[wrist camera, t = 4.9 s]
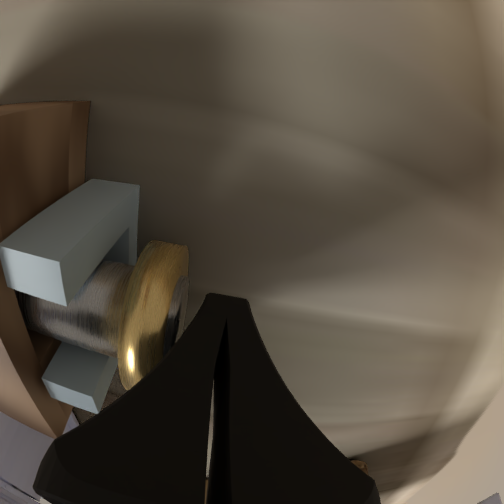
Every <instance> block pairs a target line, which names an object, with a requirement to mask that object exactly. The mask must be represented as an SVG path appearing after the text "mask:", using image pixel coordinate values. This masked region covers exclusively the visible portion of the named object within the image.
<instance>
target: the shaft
mask: <svg viewBox="0 0 504 504" xmlns="http://www.w3.org/2000/svg"><path fill="white" fill-rule="evenodd" d="M188 264H189V252H188V247H187V246H184V245H178V244H173V243H168V242H162V241H157V240H152V241H150V242H149V243H148V244H147V245H146V246H145V248H144V249H143V251H142V252H141V254H140V256H139V258H138V260H137V262H136V264H135V266H133V265H128V264H123V263H119V262H114V261H110V260H105V259H102V260H101V262H100V263H99V264H98V265H97V267H96V268H95V269H94V271H93V272H92V273H91V274H90V276H89V277H88V278H87V280H86V281H85V282H84V284H83V285H82V286H81V288H80V289H79V291H78V292H77V293H76V295H75V296H74V297H73V299H72V300H71V302H70V303H69V304H68V306H63V305H60V304H57V303H54V302H50V301H47V300H44V299H41V298H38V297H35V296H32V295H29V294H26V293H23V292H20V291H18V290H15V289H14V291H15V294H16V298H17V301H18V305H19V308H20V311H21V314H22V317H23V320H24V323H25V326H26V328H28V329H30V330H33V331H35V332H38V333H41V334H43V335H46V336H49V337H51V338H54V339H57V340H60V341H63V342H66V343H69V344H72V345H75V346H78V347H81V348H84V349H87V350H90V351H94V352H97V353H101V354H104V355H107V356H111V357H115V358H118V369H119V375H120V380H121V383H122V385H123V387H124V388H125V389H126V390H130V389H131V388H132V387H133V386H134V385H135V384H136V383H138V382H139V381H140V380H141V379H142V378H143V377H144V376H145V375H146V374H147V373H148V372H149V371H150V370H151V369H152V368H154V367H155V366H156V364H157V363H158V362H159V361H160V360H161V359H162V358H163V357H164V356H165V355H166V354H167V353H168V351H169V350H170V349H171V348H172V347H173V345H174V344H175V343H176V342H177V341H178V339H179V338H180V337H181V336H182V333H183V327H184V322H185V315H186V309H187V301H188V292H189V277H188Z"/></svg>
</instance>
